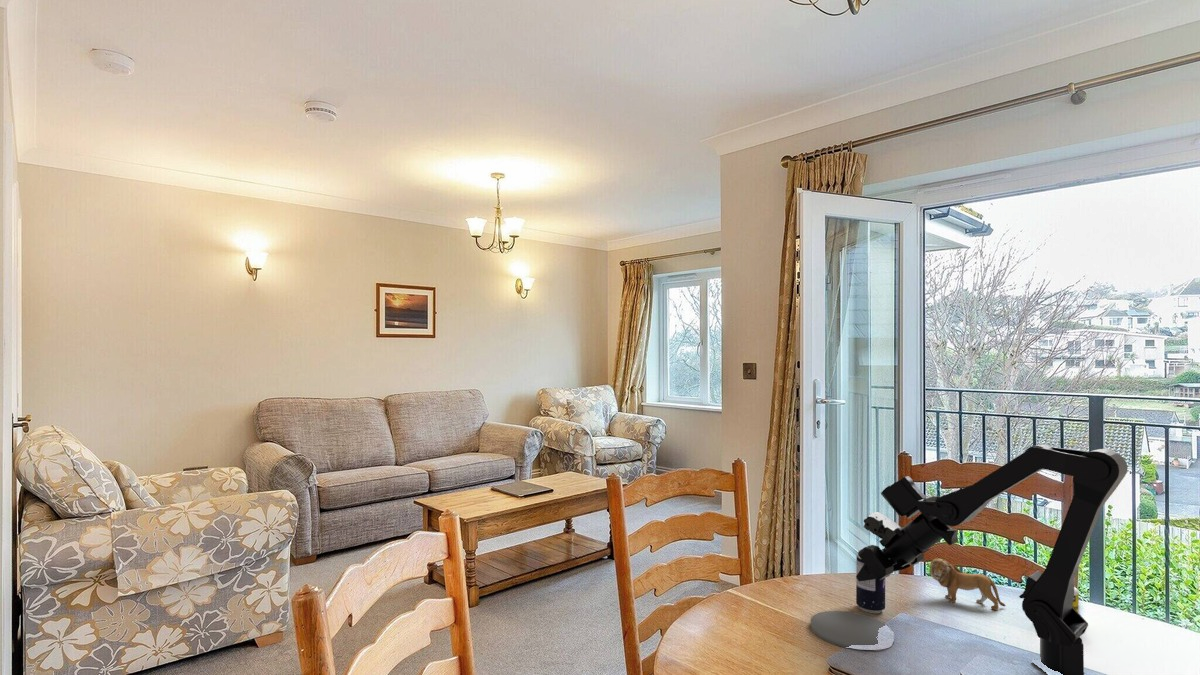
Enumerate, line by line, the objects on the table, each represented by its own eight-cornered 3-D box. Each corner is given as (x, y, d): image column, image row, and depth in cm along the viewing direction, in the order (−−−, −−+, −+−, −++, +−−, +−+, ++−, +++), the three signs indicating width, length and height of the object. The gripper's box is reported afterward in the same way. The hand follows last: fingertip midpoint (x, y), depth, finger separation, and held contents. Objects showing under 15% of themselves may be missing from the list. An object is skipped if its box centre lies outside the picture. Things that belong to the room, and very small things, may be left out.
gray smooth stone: (907, 654, 109) (907, 647, 110) (821, 647, 111) (821, 641, 111) (878, 619, 124) (878, 613, 124) (803, 614, 126) (803, 608, 126)
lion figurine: (931, 602, 135) (931, 561, 135) (927, 593, 140) (927, 554, 140) (1009, 612, 130) (1008, 570, 130) (1001, 603, 135) (1001, 562, 135)
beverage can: (888, 616, 126) (888, 557, 127) (859, 613, 127) (859, 555, 128) (881, 605, 132) (881, 549, 132) (853, 603, 133) (854, 547, 133)
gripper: (909, 497, 134) (860, 536, 142) (868, 508, 122) (817, 550, 130) (947, 542, 127) (894, 580, 135) (908, 558, 115) (852, 599, 123)
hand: (864, 576), depth 131 cm, fingers closed on beverage can, 6 cm apart
